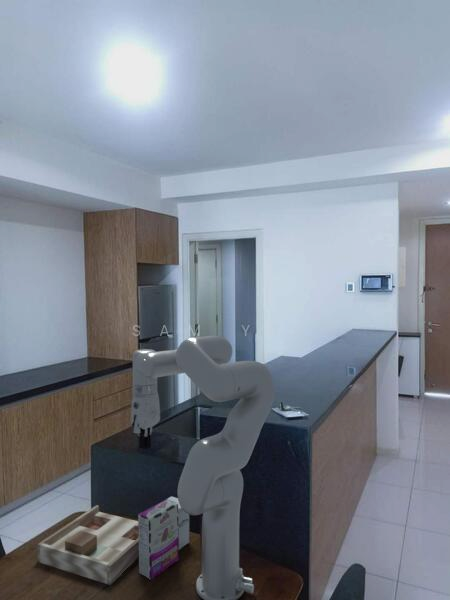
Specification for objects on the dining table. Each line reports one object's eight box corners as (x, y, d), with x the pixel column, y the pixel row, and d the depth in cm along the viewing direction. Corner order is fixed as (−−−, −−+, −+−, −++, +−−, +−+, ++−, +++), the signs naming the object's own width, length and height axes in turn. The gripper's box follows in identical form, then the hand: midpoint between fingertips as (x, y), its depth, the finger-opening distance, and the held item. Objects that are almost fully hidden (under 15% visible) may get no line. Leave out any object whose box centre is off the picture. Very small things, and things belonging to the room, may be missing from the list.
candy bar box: (166, 554, 129) (166, 498, 128) (179, 560, 126) (179, 503, 125) (137, 573, 120) (137, 513, 119) (150, 581, 117) (150, 519, 116)
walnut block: (96, 549, 126) (96, 535, 126) (81, 561, 120) (81, 546, 120) (80, 544, 128) (80, 530, 128) (65, 555, 123) (64, 541, 123)
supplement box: (174, 554, 128) (174, 511, 128) (155, 546, 132) (155, 504, 132) (190, 542, 135) (190, 501, 134) (171, 535, 139) (171, 495, 138)
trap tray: (161, 536, 138) (161, 520, 138) (110, 585, 115) (110, 565, 115) (96, 520, 148) (96, 505, 148) (37, 561, 125) (37, 544, 125)
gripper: (141, 395, 131) (141, 457, 131) (167, 385, 144) (167, 442, 145) (120, 393, 134) (120, 454, 134) (148, 384, 147) (148, 439, 148)
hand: (145, 447), depth 139 cm, fingers closed
